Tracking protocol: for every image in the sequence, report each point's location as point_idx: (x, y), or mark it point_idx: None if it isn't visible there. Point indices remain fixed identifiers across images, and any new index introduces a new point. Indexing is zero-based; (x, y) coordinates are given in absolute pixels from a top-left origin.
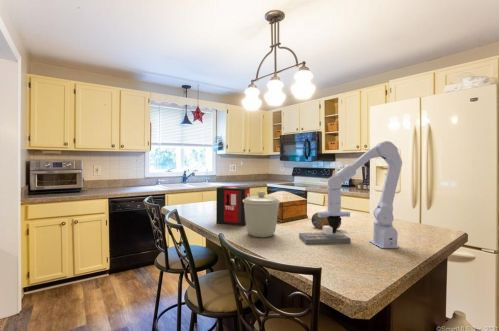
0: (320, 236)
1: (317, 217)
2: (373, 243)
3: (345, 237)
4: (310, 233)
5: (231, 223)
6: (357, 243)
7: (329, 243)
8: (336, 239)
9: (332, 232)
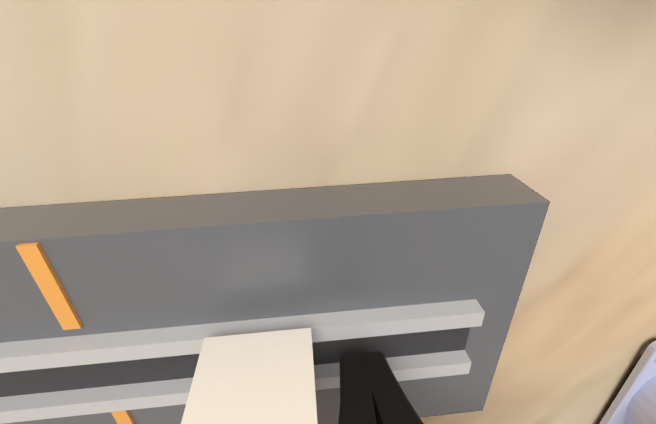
0: (162, 392)
1: None
2: (623, 392)
3: (450, 393)
4: (8, 276)
5: None
6: (512, 373)
7: None
8: (330, 419)
9: (340, 389)
